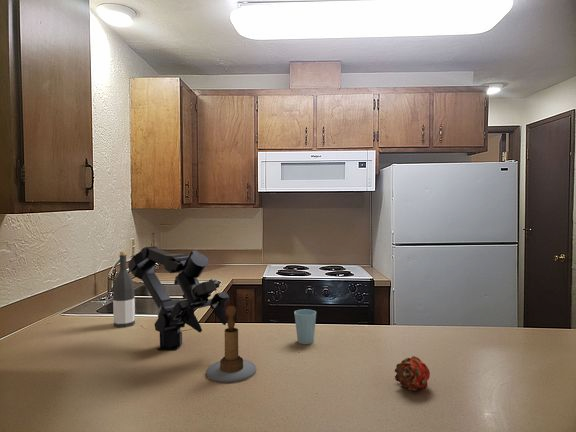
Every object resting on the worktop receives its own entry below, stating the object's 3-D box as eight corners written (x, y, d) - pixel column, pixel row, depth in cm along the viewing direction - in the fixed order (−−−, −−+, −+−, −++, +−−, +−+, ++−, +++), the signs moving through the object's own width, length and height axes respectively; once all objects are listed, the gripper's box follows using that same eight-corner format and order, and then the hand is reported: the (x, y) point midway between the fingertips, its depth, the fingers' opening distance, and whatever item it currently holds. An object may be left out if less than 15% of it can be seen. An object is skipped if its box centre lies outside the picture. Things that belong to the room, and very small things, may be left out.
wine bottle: (109, 326, 159) (107, 252, 158) (123, 321, 167) (121, 250, 166) (126, 328, 157) (124, 252, 156) (139, 322, 164) (137, 250, 164)
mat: (200, 382, 107) (200, 378, 107) (213, 362, 121) (213, 358, 121) (252, 383, 107) (252, 379, 106) (258, 362, 120) (258, 359, 120)
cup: (320, 343, 137) (320, 313, 136) (300, 346, 134) (300, 316, 133) (310, 337, 144) (310, 308, 143) (291, 340, 141) (290, 311, 140)
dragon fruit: (408, 405, 97) (409, 390, 108) (438, 387, 95) (436, 374, 107) (387, 373, 99) (390, 362, 111) (416, 355, 98) (416, 346, 109)
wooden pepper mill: (232, 374, 110) (231, 310, 109) (215, 369, 113) (214, 306, 113) (247, 366, 115) (247, 304, 115) (231, 361, 119) (230, 302, 118)
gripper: (175, 274, 115) (199, 319, 108) (225, 267, 129) (249, 305, 122) (161, 298, 121) (182, 341, 114) (210, 288, 135) (232, 326, 128)
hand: (213, 327), depth 119 cm, fingers open, 9 cm apart
